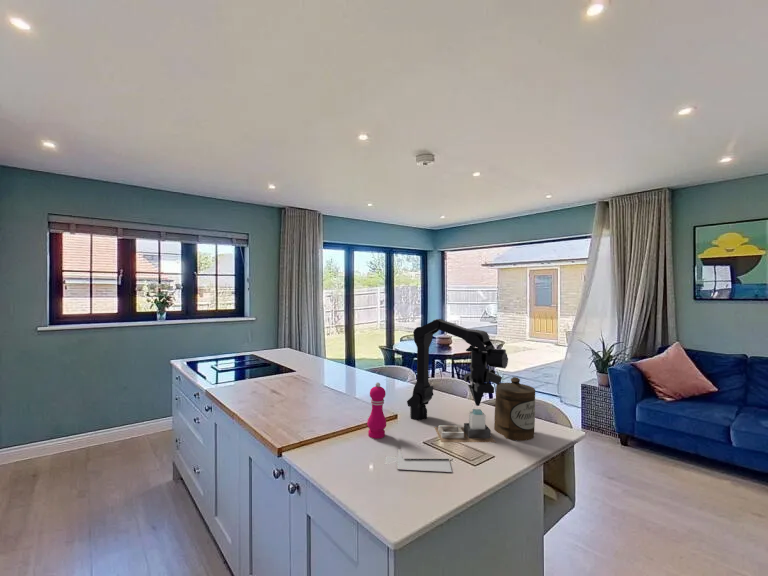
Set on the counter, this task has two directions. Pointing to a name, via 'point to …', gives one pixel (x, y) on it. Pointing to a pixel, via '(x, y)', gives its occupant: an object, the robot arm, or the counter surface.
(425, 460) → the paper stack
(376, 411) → the pepper mill
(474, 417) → the plug
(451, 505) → the counter surface
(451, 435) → the brown board with frames
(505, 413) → the wooden container
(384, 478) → the counter surface
